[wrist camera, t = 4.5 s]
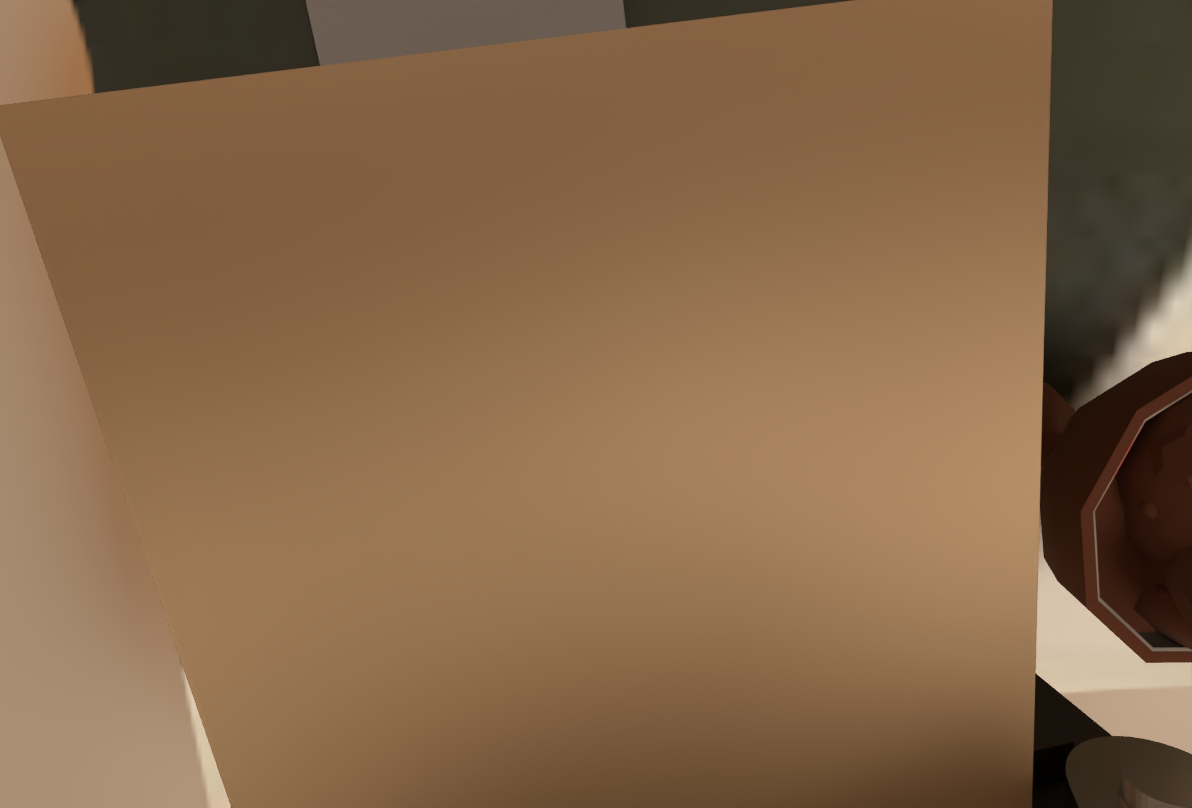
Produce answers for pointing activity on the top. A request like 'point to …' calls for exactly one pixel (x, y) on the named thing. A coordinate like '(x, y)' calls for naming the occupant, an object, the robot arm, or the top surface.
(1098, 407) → the ice cream bowl
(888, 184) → the wooden block
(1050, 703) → the robot arm
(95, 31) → the top surface
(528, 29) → the mat
